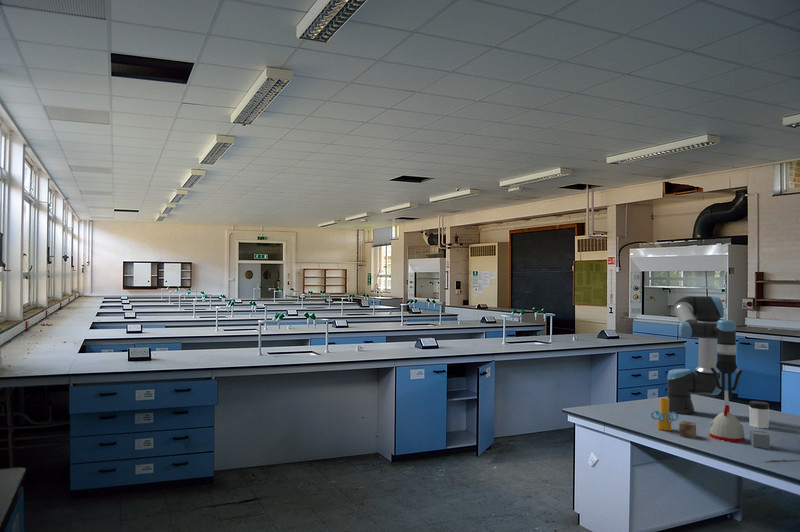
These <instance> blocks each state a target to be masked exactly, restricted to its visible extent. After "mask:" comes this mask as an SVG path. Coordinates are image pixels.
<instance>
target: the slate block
mask: <svg viewBox="0 0 800 532" xmlns="http://www.w3.org/2000/svg"><path fill="white" fill-rule="evenodd" d="M770 436H771V435H770V434H769V433H768V432H767V431H763V430H761V431H760V430H751V429H749V444H750V445H751V446H752V448H755V447H761V448H760V449H765V448H769V449H768V450H771V449H770V447H771V443H770V441H771V439H770Z"/></svg>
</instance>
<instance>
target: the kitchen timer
mask: <svg viewBox="0 0 800 532" xmlns="http://www.w3.org/2000/svg"><path fill="white" fill-rule="evenodd" d="M730 408H731V407H730V404H729V405H725V404H724V408H723V409H724V411H723V412H721V413H718V414H717V415H716V416H715V417H714V419H712V420H711V422H710V426H709V428H710V429H709V437H710V438H711V437H712V439H714V438H715V439H714V440H717V439H718V440H717V441H721V440H724V441H723V442H726V441H732V442H731V443H742V442H741V441H743V442H745V430H744V425H743V423H741V422H740V420H738V418H737V417H736V416H735V415H734V414H733V413H731V412H730V410H731V409H730Z"/></svg>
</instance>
